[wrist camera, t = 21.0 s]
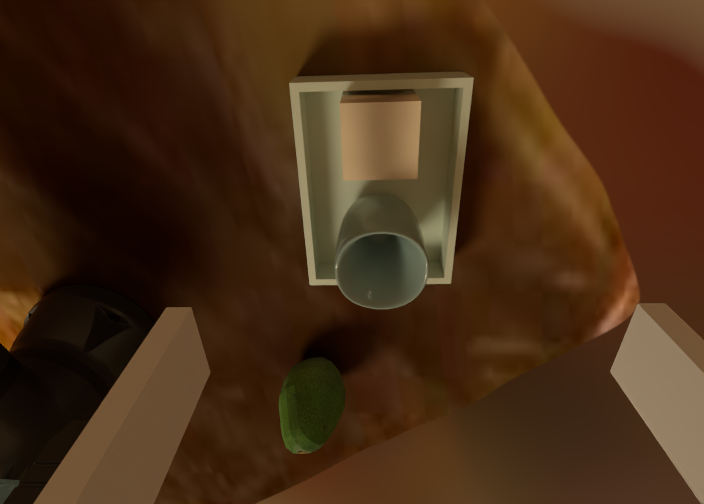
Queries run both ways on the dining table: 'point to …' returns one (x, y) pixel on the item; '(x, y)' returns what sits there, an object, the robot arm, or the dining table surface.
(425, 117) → the tray
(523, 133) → the dining table surface
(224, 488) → the dining table surface
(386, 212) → the cup
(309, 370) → the avocado
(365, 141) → the beech block
